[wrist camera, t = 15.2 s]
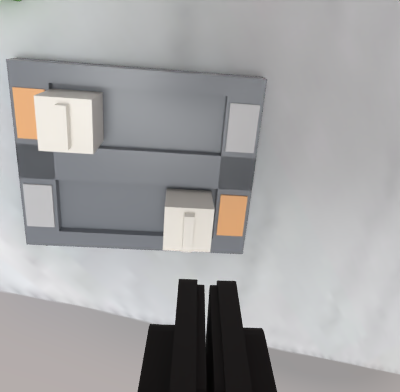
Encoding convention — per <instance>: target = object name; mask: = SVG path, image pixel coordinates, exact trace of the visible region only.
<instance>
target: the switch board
mask: <svg viewBox="0 0 400 392" xmlns="http://www.w3.org/2000/svg"><path fill="white" fill-rule="evenodd" d="M6 62H7V71H8V80H9V89H10V98H11V107H12V116H13V125H14V134H15V144H16V153H17V162H18V171H19V180H20V189H21V198H22V207H23V216H24V225H25V234H26V243H27V244H31V245H53V246H75V247H97V248H119V249H141V250H163V233H164V212H165V199H166V190H167V188H169V189H186V190H204V191H211V193H212V199H213V204H214V209H215V210H214V220H213V229H212V239H211V249H210V252H208V253H230V254H243V247H244V240H245V233H246V226H247V219H248V212H249V204H250V197H251V190H252V183H253V176H254V169H255V162H256V155H257V147H258V140H259V133H260V126H261V119H262V112H263V105H264V97H265V90H266V83H267V79H265V78H263V77H253V76H240V75H228V74H215V73H202V72H189V71H177V70H164V69H151V68H138V67H126V66H113V65H100V64H87V63H75V62H62V61H49V60H36V59H24V58H13V59H6ZM52 88H53V89H66V90H80V91H93V92H103V138H104V141H103V142H102V143H101V145H100V146H99V147H98V149H97V150H96V151H95V153H94V154H82V153H66V152H50V151H38V140H37V128H36V117H35V106H34V95H36V94H39V93H41V92H44V91H46V90H49V89H52ZM164 251H168V250H164Z"/></svg>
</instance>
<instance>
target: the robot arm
mask: <svg viewBox="0 0 400 392" xmlns="http://www.w3.org/2000/svg"><path fill="white" fill-rule="evenodd" d="M138 392H277V390H276V385H275V380H274V376H273V371H272V367H271V362H270V358H269V353H268V348H267V344H266V339H265V335H264V331H263V329H262V328H243V325H242V318H241V312H240V305H239V298H238V292H237V285H236V281H217V285H210V290H209V304H208V318H207V333H206V347H205V294H204V285H197V280H192V279H179V285H178V297H177V308H176V320H175V325H159V324H150V326H149V330H148V335H147V341H146V347H145V353H144V358H143V364H142V370H141V376H140V381H139V387H138Z"/></svg>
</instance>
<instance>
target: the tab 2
mask: <svg viewBox="0 0 400 392" xmlns="http://www.w3.org/2000/svg"><path fill="white" fill-rule="evenodd" d="M214 210H215V209H214V204H213V199H212V193H211V191H204V190H186V189H169V188H167V190H166V199H165V212H164V233H163V250H168V251H182V252H210V249H211V239H212V229H213V220H214Z"/></svg>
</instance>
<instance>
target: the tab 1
mask: <svg viewBox="0 0 400 392" xmlns="http://www.w3.org/2000/svg"><path fill="white" fill-rule="evenodd" d="M34 106H35V117H36V128H37V140H38V151H50V152H66V153H82V154H94V153H95V151H96V150H97V149H98V147H99V146H100V145H101V143H102V142H103V141H104V138H103V92H93V91H80V90H66V89H53V88H52V89H49V90H46V91H44V92H41V93H39V94H36V95H34Z"/></svg>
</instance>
